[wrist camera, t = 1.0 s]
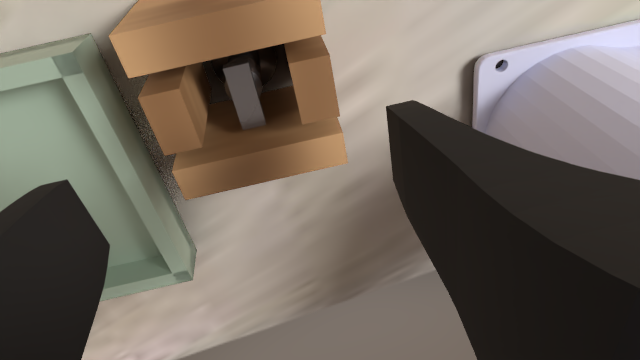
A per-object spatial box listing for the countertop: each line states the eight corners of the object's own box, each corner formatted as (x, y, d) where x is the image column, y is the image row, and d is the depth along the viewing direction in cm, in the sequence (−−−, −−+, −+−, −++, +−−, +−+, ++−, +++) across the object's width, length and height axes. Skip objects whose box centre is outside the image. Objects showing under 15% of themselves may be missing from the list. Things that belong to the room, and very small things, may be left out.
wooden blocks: (291, -90, 14) (306, -77, 11) (327, 105, 18) (347, 163, 15) (122, -52, 14) (79, -26, 11) (197, 134, 18) (185, 199, 15)
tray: (90, 33, 15) (72, 51, 14) (196, 249, 22) (192, 280, 20) (-187, 95, 15) (-238, 121, 14) (1, 294, 22) (-19, 328, 20)
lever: (267, 17, 16) (271, 47, 13) (282, 80, 17) (289, 119, 15) (202, 32, 16) (193, 65, 13) (224, 94, 17) (219, 135, 15)
